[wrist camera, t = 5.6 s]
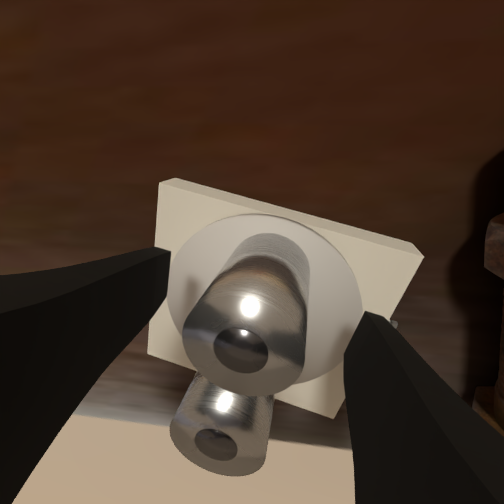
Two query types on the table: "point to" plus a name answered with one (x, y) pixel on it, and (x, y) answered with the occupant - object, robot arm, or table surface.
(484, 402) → the bolt
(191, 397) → the spacer
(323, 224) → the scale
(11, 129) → the table surface
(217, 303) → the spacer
